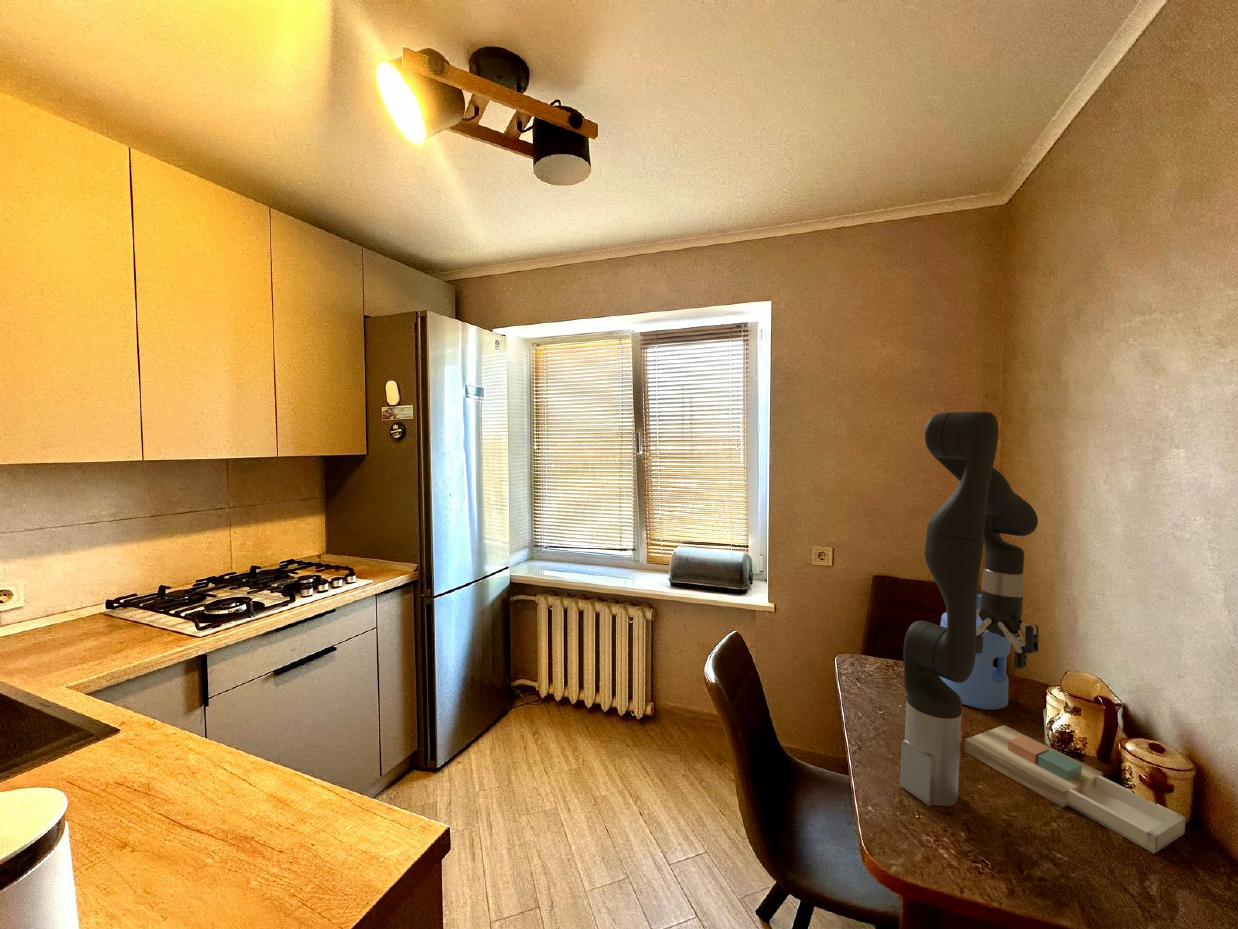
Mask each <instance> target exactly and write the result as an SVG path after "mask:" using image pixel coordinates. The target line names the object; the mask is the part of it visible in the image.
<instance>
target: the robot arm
mask: <svg viewBox="0 0 1238 929" xmlns="http://www.w3.org/2000/svg"><path fill="white" fill-rule="evenodd" d="M999 430H1000V429H999V423H998V419H997V417H996V415H995V414H993V413H992V412H989V411H955V412H954V411H953V412H949V411H948V412H941V413H936V414H934V415H932V416H931V417H930V418H929V419H928V421H927V423H926V425H925V429H924V441H925V446H926V448H927V449H928V451H929V453H930V454H931V455H932V456H933V458H934V459H936V461H938V462H939V463H940V464H941V465H942V466H943V467H944V468H945V469H946V470H947V471H949V473H950V474H952V475H953V476H954V477H955V478H956V479H957V480H958V481H959V484H958V485H957V487H956V488H955V490H954V491H953V492H952V493H951V495H949V497H948V498H947V499H946V500H945V501H944V502H943V503H942V504H941V505H940V506H939V507H938V508H937V510H936V511H935V512H934V514H933V515H932V516H931V518H930V519H929V521H928V524H927V526H926V527H927V528H926V536H925V545H924V546H925V547H924V559H925V562H926V565H927V568H928V570H929V572H930V574H931V575H932V578H933V580H934V582H935V583H936V586H937V587H938V589H939V592H940V594H941V596H942V598H943V601H944V602H943V603H944V604H945V608H946V612H947V628H945V627H942V626H941V625H940V624H939V625H938V624H936V623H932V622H930V621H926V620H916V621H914V622H912V623H911V624H910V625H909V627H908V628H907V630H906V633H905V637H904V641H903V685H904V689H905V693H906V702H905V703H906V706H905V726H904V739H903V740H902V741H901V753H900V754H901V756H900V780H899V781H900V782H899V786H900V787H901V788H903V789H904V790H906V791H907V792H908V793H910V794H911V795H913V796H914V797H915V798H917V799H918V800H919V801H921V802H922V803H924V804H925V805H927V806H928V807H931V806H939V807H950V806H953V805H955V804H956V803H957V802H958V796H959V782H960V781H959V775H960V756H961V753H960V752H961V731H962V730H961V729H962V715H963V714H962V713H963V712H962V711H963V704H962V701H961V698H960V696H959V695H958V694H957V693H956V692H955V691H954V690H953V689H951V688H950V687H949V686H948V685H947V684H946V683H945V682H944V681H943V680H942V679H941V678H940V677H942V678H945V679H948V680H950V681H953V682H957V683H962V682H964V681H966V680H967V679H968V678H969V677H970V675H971V673H972V670H973V667H974V663H975V656H976V653H977V654H978V653H982V651H983V637H982V635H983V634H985V633H986V632H987V631H989V632H990V633H994V634H998V635H1000V636H1002V637H1007V639H1008V641H1009V642H1010V643H1011V645H1012V646H1013V648H1014V650H1015V651H1014V659H1013V660H1014V662H1013V668H1014V669H1015V670H1016V669H1017V670H1022V669H1023V668H1025V667H1026V666H1027V659H1028V658H1027V657H1028V654H1034V653H1038V652H1039V626H1038V625H1037V624H1029V623H1024V622H1023V620H1022V614H1023V605H1024V604H1023V603H1024V593H1025V590H1024V589H1025V586H1024V585H1025V582H1024V567H1025V566H1024V564H1025V563H1024V562H1025V552H1024V550H1023V549H1022V548H1021V547H1020V546H1016V545H1014V544H1012V543H1009V542H1007V541H1005V540H1004V539H1003V538H1002V536H1001V534H1003V535H1009V536H1017V537H1026V536H1029V535H1031V534H1033V533H1034V532H1035V531H1036V529H1037V527H1038V524H1039V518H1038V515H1037V513H1036V510H1035V509H1034V507H1033V506H1032V505H1031V504H1030V503H1029V502H1028V501H1026V500H1025V499H1023V497H1021V496H1020V495H1018V494H1017V493H1015V492H1014V491H1013V488H1012V486H1011V485H1010V484H1009V482H1008V480H1007V479H1006V477H1005V476H1004V475H1003V474H1002V473H1001V472H1000V471H999V470H997V469H996V468H994V466H995V465H994V463H995V459H996V454H997V449H998V448H997V447H998V443H999V433H1000V432H999ZM983 551H984V552H983ZM983 553H984V565H983V566H984V567H983V573H982V576H981V577H982V578H981V590H980V591H981V593H980V594H981V610H979V609H978V608H977V607H976V605H977V594H978V589H979V582H980V581H979V580H980V574H981V573H980V572H981V567H982V566H981V565H982V560H983ZM978 616H980V618H981V620H982V621H983V622H982V623H981V624H980V625H979V626H978V627H976V619H977V617H978ZM1020 630H1022V632H1023V633H1024V637H1025V638H1024V637H1023V635H1022V633H1021V632H1020ZM1024 640H1025V641H1024ZM939 676H940V677H939Z"/></svg>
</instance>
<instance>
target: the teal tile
mask: <svg viewBox="0 0 1238 929" xmlns="http://www.w3.org/2000/svg"><path fill="white" fill-rule="evenodd" d="M1038 766H1040V767H1042V768H1044V769H1046V770H1047V771H1049V772H1051V773H1053V774H1055V775H1057V776H1059V777H1061V778H1063V779H1065V780H1067V781H1068V780H1070V779H1073V778H1075V777H1077V776H1079V775H1081V773H1082V764H1080V763H1078V762H1076V761H1074V760H1071V759H1069V758H1067V757H1065V756H1063V755H1061V754H1059V753H1057V752H1055V751H1053V750H1051V751H1049V752H1046V753H1044V754H1042V755H1039V756H1038Z"/></svg>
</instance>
